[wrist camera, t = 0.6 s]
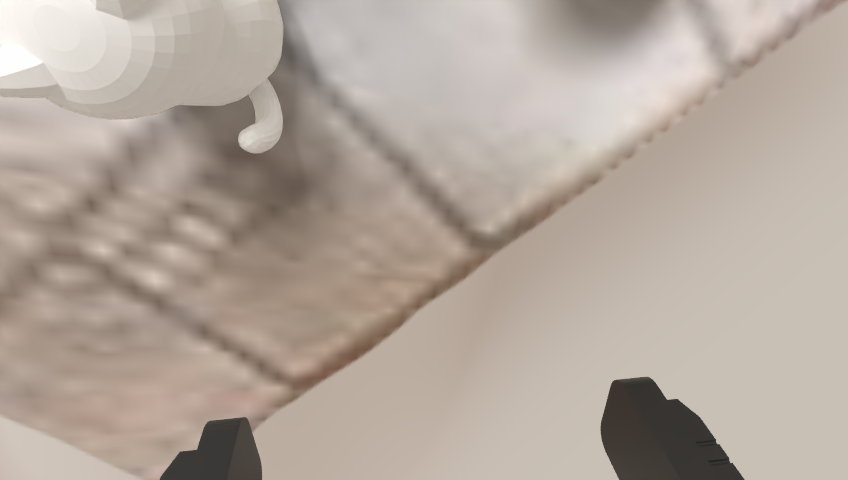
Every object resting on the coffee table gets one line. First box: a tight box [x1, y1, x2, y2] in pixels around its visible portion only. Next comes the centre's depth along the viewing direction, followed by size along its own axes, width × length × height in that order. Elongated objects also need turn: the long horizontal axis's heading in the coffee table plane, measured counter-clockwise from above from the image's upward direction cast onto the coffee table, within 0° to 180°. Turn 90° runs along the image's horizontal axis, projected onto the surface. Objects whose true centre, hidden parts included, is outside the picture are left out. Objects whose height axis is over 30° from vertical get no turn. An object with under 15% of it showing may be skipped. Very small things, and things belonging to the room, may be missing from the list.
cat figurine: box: [0, 0, 284, 153], centre depth 22 cm, size 9×12×15 cm
